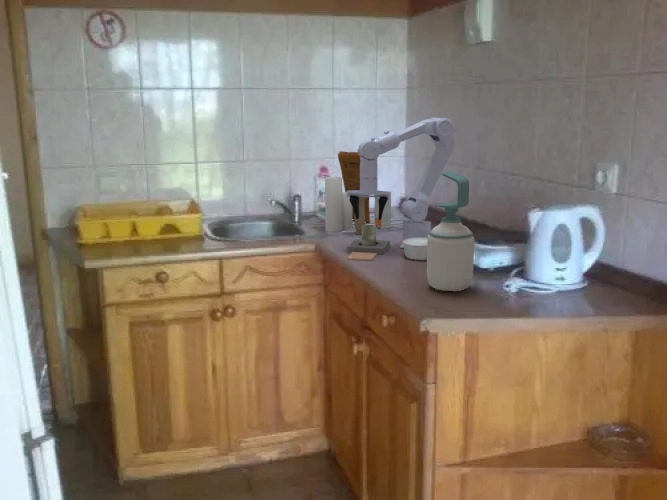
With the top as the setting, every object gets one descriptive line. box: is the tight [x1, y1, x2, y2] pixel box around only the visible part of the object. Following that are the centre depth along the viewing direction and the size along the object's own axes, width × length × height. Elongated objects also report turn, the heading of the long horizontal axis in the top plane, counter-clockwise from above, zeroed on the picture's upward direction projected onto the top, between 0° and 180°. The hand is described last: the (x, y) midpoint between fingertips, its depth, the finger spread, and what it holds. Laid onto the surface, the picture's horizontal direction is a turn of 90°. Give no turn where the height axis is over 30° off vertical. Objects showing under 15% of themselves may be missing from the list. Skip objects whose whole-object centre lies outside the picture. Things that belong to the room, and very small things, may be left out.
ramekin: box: [402, 237, 428, 261], centre depth 219 cm, size 11×11×5 cm
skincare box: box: [374, 197, 392, 230], centre depth 265 cm, size 6×4×12 cm
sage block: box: [361, 224, 377, 246], centre depth 229 cm, size 4×4×8 cm
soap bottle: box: [426, 170, 475, 290], centre depth 182 cm, size 12×12×31 cm
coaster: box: [346, 252, 378, 262], centre depth 220 cm, size 8×8×1 cm
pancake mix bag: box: [337, 151, 371, 223], centre depth 277 cm, size 7×19×28 cm, turn 32°
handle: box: [354, 197, 367, 236], centre depth 253 cm, size 5×6×15 cm
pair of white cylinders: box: [324, 176, 354, 233], centre depth 261 cm, size 11×7×20 cm, turn 135°
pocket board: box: [346, 238, 391, 255], centre depth 230 cm, size 12×12×2 cm
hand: (368, 218), depth 228 cm, fingers open, 7 cm apart
